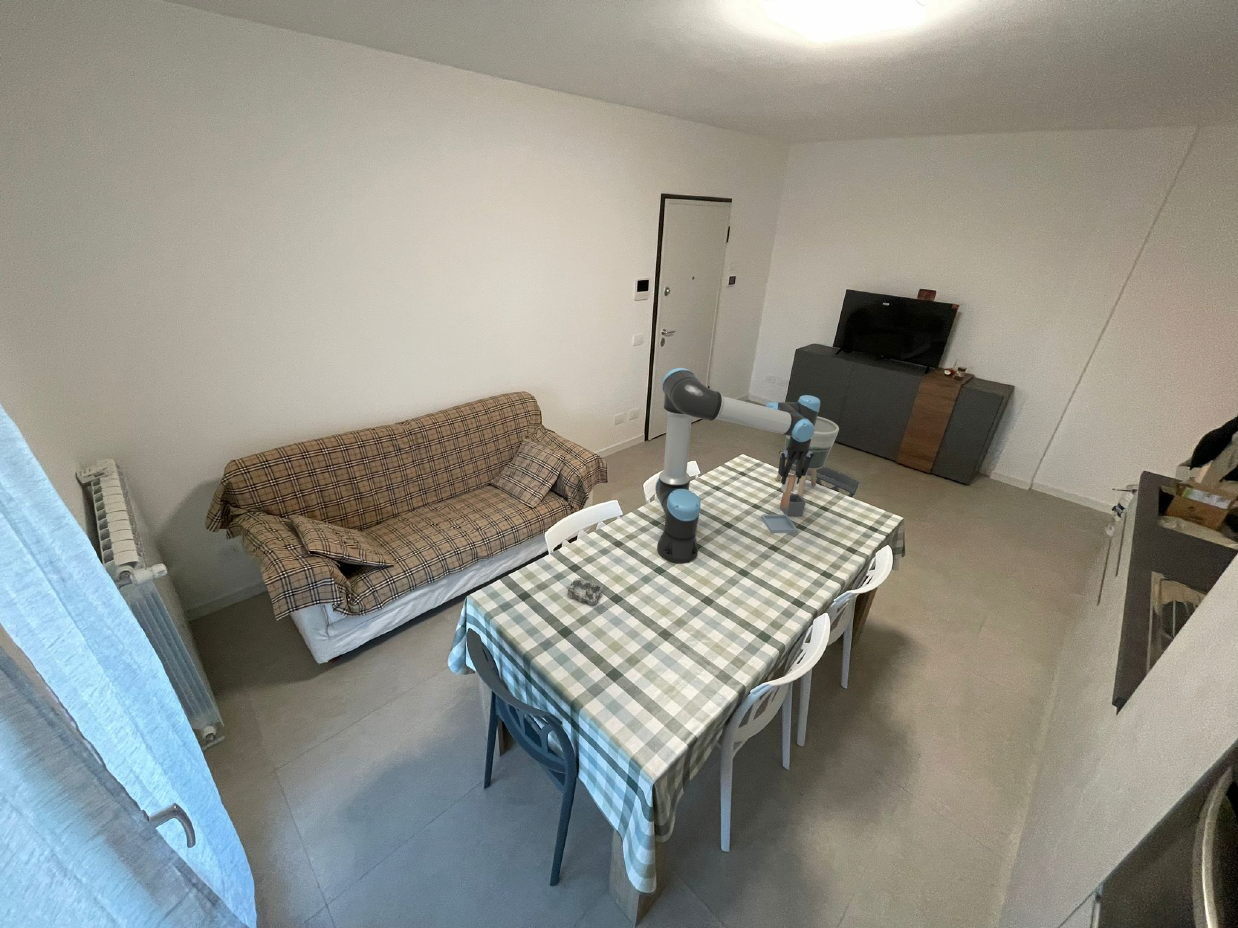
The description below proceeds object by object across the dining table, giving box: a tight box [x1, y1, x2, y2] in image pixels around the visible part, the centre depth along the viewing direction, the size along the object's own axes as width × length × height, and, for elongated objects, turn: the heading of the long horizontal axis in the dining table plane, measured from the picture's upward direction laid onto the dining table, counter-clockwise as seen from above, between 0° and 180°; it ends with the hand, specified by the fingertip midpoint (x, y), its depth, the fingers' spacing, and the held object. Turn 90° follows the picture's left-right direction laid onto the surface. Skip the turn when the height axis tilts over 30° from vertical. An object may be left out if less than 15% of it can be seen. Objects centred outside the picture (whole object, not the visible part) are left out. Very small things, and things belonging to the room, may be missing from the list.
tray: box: [760, 514, 799, 534], centre depth 203 cm, size 11×11×2 cm
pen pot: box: [779, 493, 806, 518], centre depth 211 cm, size 7×7×8 cm
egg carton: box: [565, 577, 604, 606], centre depth 159 cm, size 11×8×4 cm
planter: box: [774, 415, 840, 499], centre depth 226 cm, size 22×22×33 cm
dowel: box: [779, 473, 795, 508], centre depth 196 cm, size 3×3×14 cm
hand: (787, 490), depth 196 cm, fingers closed on dowel, 3 cm apart
